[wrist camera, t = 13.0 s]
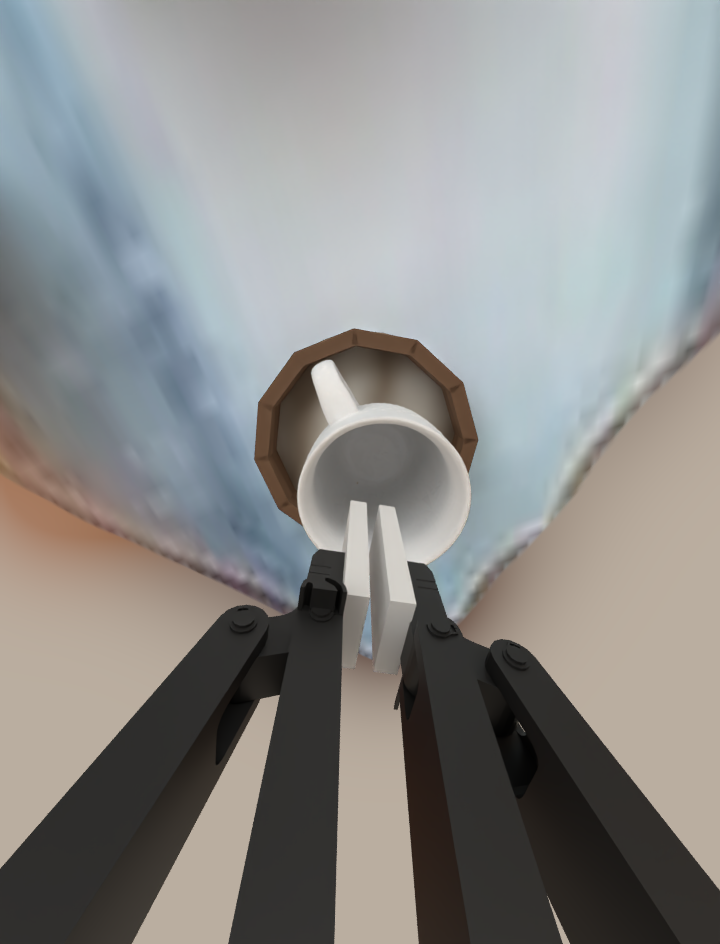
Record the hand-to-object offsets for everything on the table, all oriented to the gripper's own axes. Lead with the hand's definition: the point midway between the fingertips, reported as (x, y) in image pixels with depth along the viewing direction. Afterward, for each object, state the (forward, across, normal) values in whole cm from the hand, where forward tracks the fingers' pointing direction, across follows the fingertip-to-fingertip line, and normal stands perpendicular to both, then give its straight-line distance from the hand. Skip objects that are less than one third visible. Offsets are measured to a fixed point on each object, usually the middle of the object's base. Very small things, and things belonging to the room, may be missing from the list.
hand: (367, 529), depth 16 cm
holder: (+18, 0, 0) cm, 18 cm away
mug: (+18, 0, 0) cm, 18 cm away
